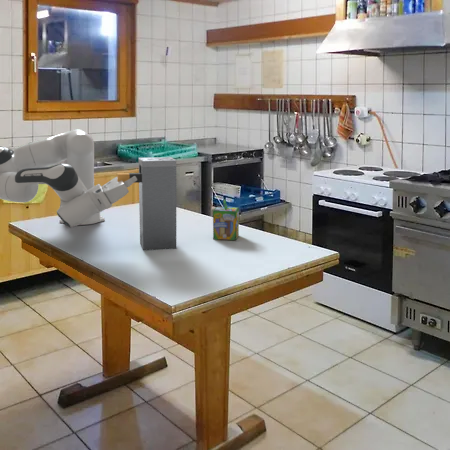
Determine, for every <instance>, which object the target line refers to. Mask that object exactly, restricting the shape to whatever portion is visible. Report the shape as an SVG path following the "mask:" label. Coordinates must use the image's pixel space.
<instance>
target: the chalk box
mask: <svg viewBox="0 0 450 450" xmlns="http://www.w3.org/2000/svg"><path fill="white" fill-rule="evenodd" d="M222 202H223V203H222V204H223V206H216V207H214V209H213V210H212V226H213V228H212V230H213V231H212V232H213V233H212V234H213V235H212V236H213V237H212V238H213V240H217V241H219V240H221V241H222V240H224V241H226V240H228V241H237V239H238V237H239V230H240V229H239V228H240V227H239V226H240V225H239V224H240V223H239V222H240V221H239V220H240V208H239V207H236V206H234V207H233V206H228V205H227V200H226V199H224V200H223V201H222Z"/></svg>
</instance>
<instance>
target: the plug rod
mask: <svg viewBox="0 0 450 450" xmlns="http://www.w3.org/2000/svg"><path fill="white" fill-rule="evenodd" d="M133 176H136V178H137V181H136V182H134V183H138V184H139V183H140V182H141V173H139V172H120V173H119V172H117V173H116V177H117V181H118V182H119V181H120V180H122V181H123V182H124V181H127V180H128V179H130V178H131V177H133ZM134 183H133V184H134Z"/></svg>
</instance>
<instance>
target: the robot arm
mask: <svg viewBox="0 0 450 450" xmlns="http://www.w3.org/2000/svg"><path fill="white" fill-rule="evenodd" d="M65 161H66V163H63V162H65ZM136 181H137V178H136V176H133V177H131V178H130V179H128V180H127V181H124V182H123V181H122V180H120V181H119V182H118V181H117V176H115V177H113V178H112V179H111V180H109V181H108V182H106V183H105V184H103V185H101V184H100V183H97V184H96V185H95V142H94V139H93V137H92V135H90V134H89V133H88V132H87V131H85V130H83V129H77V128H76V129H72V130H68V131H65V132H63V133H60V134H56V135H52V136H50V137H48V138H44V139H40V140H37V141H32V142H30V143H25V144H23V145H20V146H18V147H14V148H13V149H9V148H8V147H5V146H0V199H1V200H3V201H9V202H14V203H27V202H28V203H29V202H30V201H32V200H33V199H34V198H35V197H36V196H37V194H38V191H39V185H47V186H49V187H50V188H51V189H52V190H53V191H54V192H55V193H56V195H57V196H58V197H59V198H60V201H59V202H60V204H59V208H58V209H57V210H56V214H57V216H58V218H59V223H61V224H64V225H65V226H66V227H68V228H74V227H76V226H81V225H83V226H84V225H85V226H86V225H93V224H97V223H100V222H105V221H106V219H105V217H103V216H102V215H101V213H102V212H103V211H105V210H107V209H110V208H111V207H113V204H116V203H117V202H118V201H119V200H121V199H122V198H123V197H125V196H127V195H128V194H129V192H130V191H129V189H128V188H129V187H131V186H132V185H133V184H134V182H136Z"/></svg>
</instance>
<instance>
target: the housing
mask: <svg viewBox="0 0 450 450" xmlns="http://www.w3.org/2000/svg"><path fill="white" fill-rule="evenodd" d="M138 173H141V182H140V183H138V201H139V202H138V203H139V206H138V207H139V244H140V247H141V249H142V251H163V250H177V160H176V159H175V158H173V157H171V156H168V157H167V156H165V157H138Z"/></svg>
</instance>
